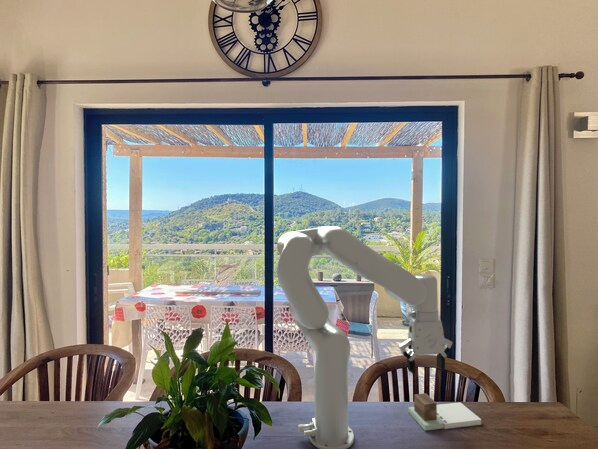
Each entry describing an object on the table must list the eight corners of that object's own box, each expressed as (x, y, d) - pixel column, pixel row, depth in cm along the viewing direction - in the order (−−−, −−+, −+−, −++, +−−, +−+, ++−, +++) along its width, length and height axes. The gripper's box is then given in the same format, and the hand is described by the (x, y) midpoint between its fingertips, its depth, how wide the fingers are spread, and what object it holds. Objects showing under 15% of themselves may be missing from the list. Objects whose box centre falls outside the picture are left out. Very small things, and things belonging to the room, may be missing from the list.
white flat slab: (444, 428, 100) (444, 423, 100) (426, 410, 110) (426, 405, 110) (481, 424, 102) (481, 419, 102) (460, 406, 112) (460, 401, 112)
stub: (424, 430, 99) (424, 408, 99) (408, 411, 109) (408, 391, 109) (443, 428, 100) (443, 406, 100) (425, 410, 110) (425, 389, 110)
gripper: (404, 320, 99) (405, 379, 100) (458, 316, 102) (459, 373, 103) (393, 314, 107) (394, 368, 107) (443, 310, 110) (444, 362, 110)
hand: (426, 370), depth 105 cm, fingers open, 9 cm apart
